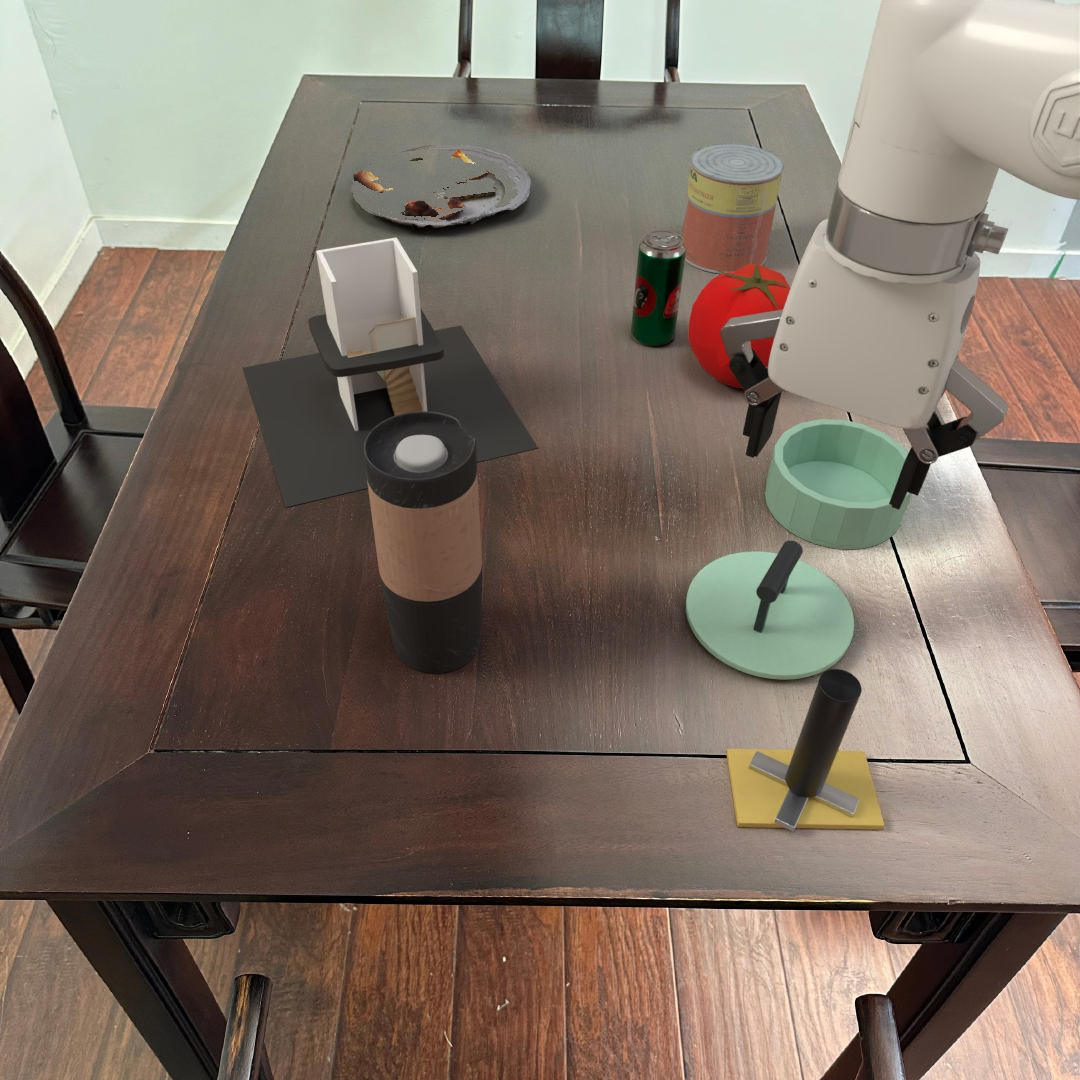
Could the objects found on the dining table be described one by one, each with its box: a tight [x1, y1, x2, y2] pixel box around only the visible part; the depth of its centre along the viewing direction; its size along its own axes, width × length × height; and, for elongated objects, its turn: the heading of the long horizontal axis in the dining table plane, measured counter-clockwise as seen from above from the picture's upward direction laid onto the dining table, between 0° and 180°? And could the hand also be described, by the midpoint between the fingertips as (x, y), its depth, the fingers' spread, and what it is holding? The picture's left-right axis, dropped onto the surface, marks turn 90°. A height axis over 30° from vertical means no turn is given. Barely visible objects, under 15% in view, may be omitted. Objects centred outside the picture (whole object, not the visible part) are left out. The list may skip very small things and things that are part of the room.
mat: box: [726, 748, 885, 831], centre depth 68 cm, size 10×6×1 cm, turn 89°
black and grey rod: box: [749, 668, 863, 832], centre depth 64 cm, size 8×8×12 cm
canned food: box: [681, 142, 785, 275], centre depth 121 cm, size 11×11×12 cm
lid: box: [685, 540, 855, 681], centre depth 78 cm, size 14×14×6 cm
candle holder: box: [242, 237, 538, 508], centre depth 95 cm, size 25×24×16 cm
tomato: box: [687, 264, 791, 389], centre depth 102 cm, size 12×13×12 cm
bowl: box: [764, 418, 913, 550], centre depth 89 cm, size 13×13×5 cm
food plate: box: [352, 144, 532, 229], centre depth 135 cm, size 25×23×4 cm
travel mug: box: [364, 411, 483, 674], centre depth 71 cm, size 8×8×20 cm
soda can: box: [630, 229, 686, 347], centre depth 107 cm, size 5×5×12 cm
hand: (827, 470), depth 64 cm, fingers open, 9 cm apart
